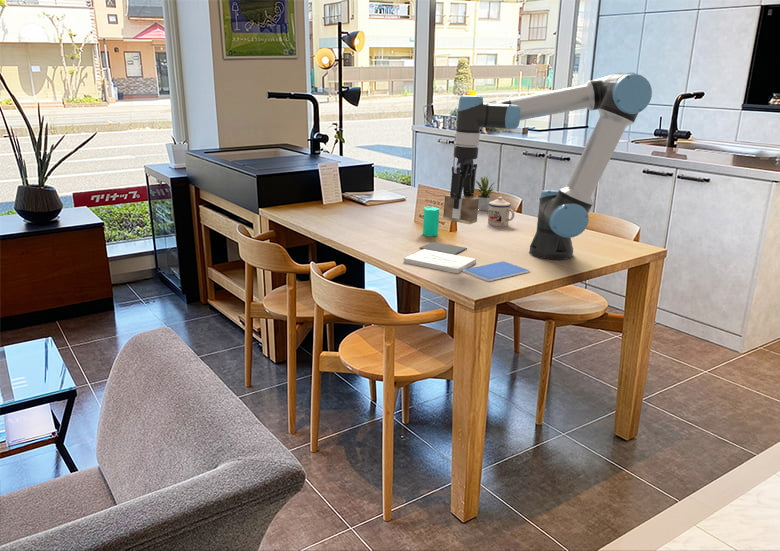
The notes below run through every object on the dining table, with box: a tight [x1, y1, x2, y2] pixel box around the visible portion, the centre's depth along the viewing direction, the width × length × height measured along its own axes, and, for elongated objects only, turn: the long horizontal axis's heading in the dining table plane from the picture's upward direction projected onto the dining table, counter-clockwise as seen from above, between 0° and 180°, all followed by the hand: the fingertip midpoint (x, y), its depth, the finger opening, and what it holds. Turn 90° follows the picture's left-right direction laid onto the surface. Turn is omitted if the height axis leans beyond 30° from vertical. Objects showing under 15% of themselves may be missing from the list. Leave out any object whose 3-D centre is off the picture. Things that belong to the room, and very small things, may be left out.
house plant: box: [474, 175, 496, 211], centre depth 295 cm, size 14×14×16 cm
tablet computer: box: [462, 260, 531, 282], centre depth 205 cm, size 19×13×1 cm, turn 127°
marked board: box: [403, 249, 477, 274], centre depth 212 cm, size 20×14×2 cm
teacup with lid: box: [487, 196, 515, 227], centre depth 266 cm, size 12×9×12 cm
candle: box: [422, 205, 440, 237], centre depth 247 cm, size 6×6×12 cm
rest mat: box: [419, 241, 468, 255], centre depth 229 cm, size 14×10×1 cm
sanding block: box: [442, 194, 479, 225], centre depth 208 cm, size 10×5×8 cm, turn 56°
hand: (460, 216), depth 209 cm, fingers closed on sanding block, 5 cm apart
